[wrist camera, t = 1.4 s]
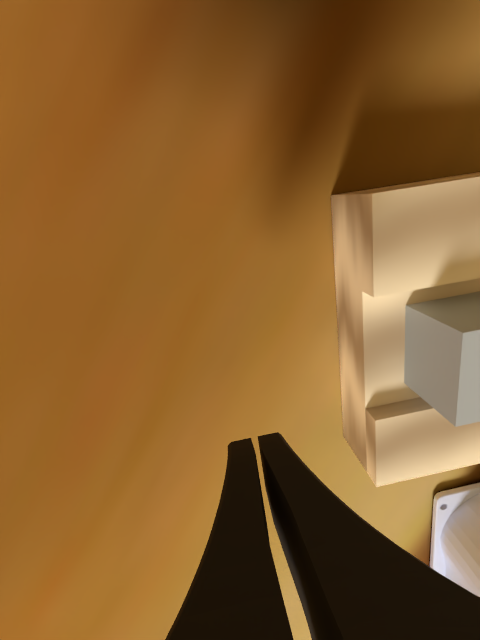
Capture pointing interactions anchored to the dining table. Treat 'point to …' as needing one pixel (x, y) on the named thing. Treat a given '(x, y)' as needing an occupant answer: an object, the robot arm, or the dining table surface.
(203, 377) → the dining table surface
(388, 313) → the grooved board
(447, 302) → the matte grey cube
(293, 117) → the dining table surface
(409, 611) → the robot arm
